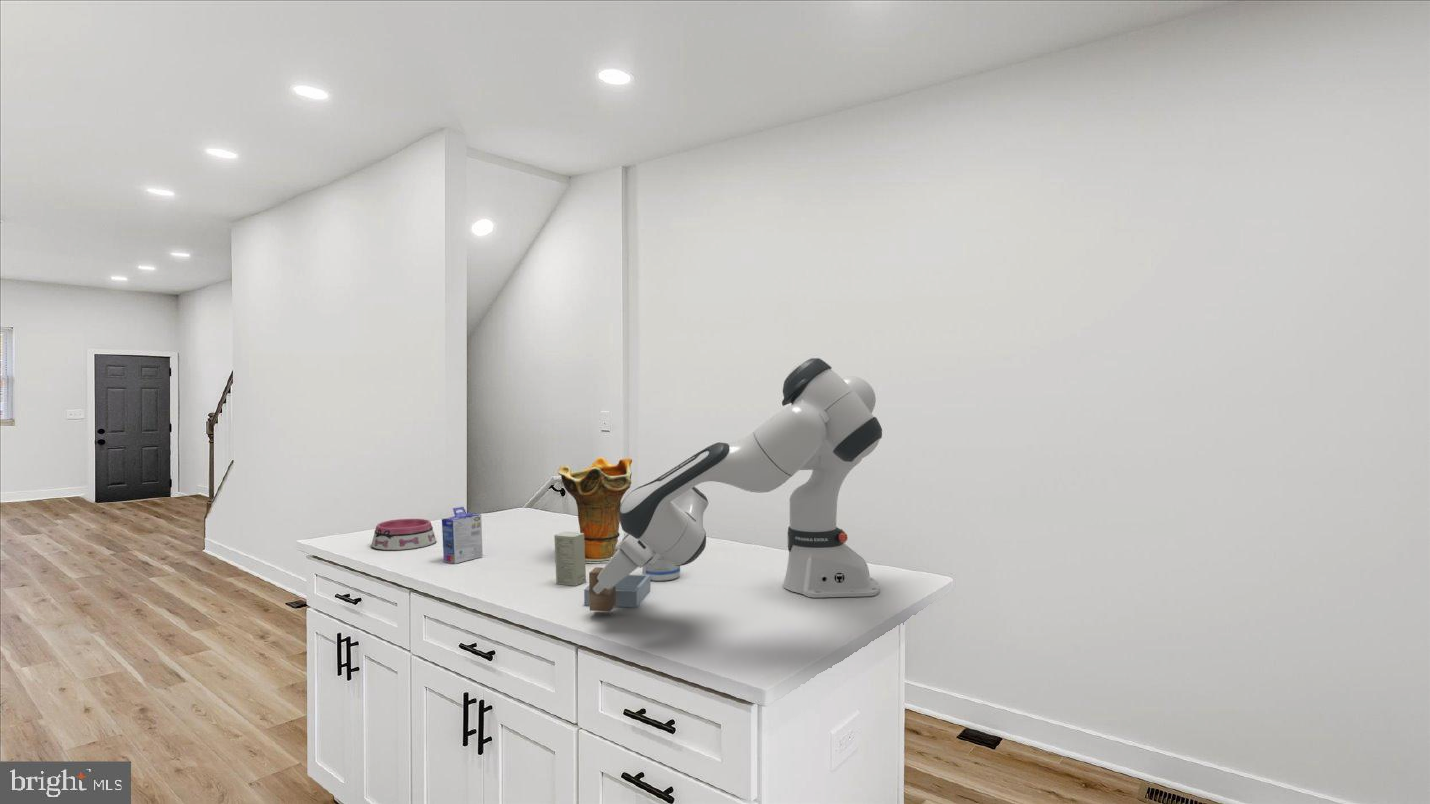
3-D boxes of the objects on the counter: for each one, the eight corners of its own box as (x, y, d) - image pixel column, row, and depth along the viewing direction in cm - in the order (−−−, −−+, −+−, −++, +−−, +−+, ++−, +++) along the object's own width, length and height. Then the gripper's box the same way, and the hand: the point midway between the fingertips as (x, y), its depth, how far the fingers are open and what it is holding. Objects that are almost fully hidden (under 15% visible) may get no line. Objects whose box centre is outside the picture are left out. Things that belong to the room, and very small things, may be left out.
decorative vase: (543, 562, 199) (545, 459, 200) (583, 548, 221) (584, 455, 222) (614, 568, 193) (615, 461, 194) (647, 552, 215) (648, 457, 216)
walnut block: (615, 604, 157) (615, 567, 157) (610, 611, 153) (609, 573, 153) (595, 604, 158) (595, 567, 158) (589, 610, 154) (589, 572, 153)
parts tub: (650, 589, 174) (650, 575, 174) (636, 607, 160) (636, 591, 160) (602, 588, 176) (601, 573, 175) (584, 605, 162) (584, 589, 162)
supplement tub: (687, 578, 184) (686, 519, 184) (653, 584, 179) (653, 523, 178) (668, 570, 192) (667, 513, 192) (635, 575, 187) (634, 517, 186)
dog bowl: (449, 541, 230) (449, 519, 230) (401, 554, 213) (401, 530, 213) (406, 536, 238) (406, 515, 238) (357, 548, 221) (356, 526, 221)
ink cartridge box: (470, 554, 211) (469, 504, 211) (483, 557, 208) (483, 506, 208) (441, 562, 203) (440, 509, 202) (454, 564, 200) (453, 511, 199)
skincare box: (586, 582, 181) (585, 533, 181) (575, 586, 177) (575, 536, 177) (565, 579, 184) (564, 531, 183) (554, 583, 180) (553, 534, 179)
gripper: (645, 521, 164) (603, 564, 166) (621, 541, 144) (574, 589, 146) (665, 542, 164) (622, 584, 166) (643, 565, 144) (596, 612, 145)
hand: (599, 587), depth 156 cm, fingers closed on walnut block, 4 cm apart
